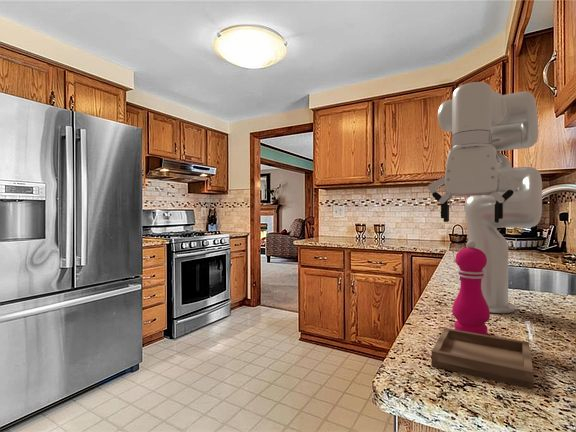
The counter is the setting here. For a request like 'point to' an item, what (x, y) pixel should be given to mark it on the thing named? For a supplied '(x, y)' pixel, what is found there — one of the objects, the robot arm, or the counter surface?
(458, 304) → the pepper mill
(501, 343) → the tray
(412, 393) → the counter surface
